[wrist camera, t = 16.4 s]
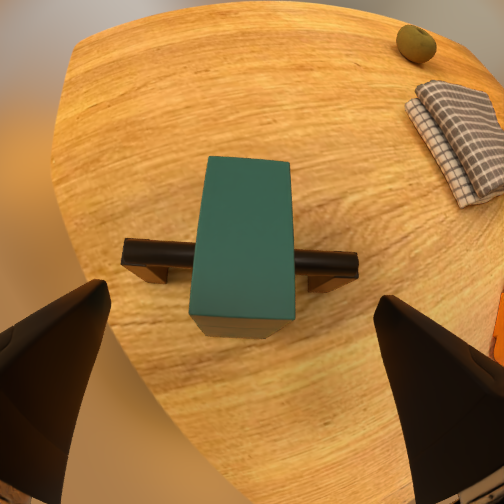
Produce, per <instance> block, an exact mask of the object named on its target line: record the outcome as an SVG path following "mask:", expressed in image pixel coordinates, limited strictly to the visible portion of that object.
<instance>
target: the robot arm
mask: <svg viewBox="0 0 504 504" xmlns="http://www.w3.org/2000/svg"><path fill="white" fill-rule="evenodd" d="M110 309H111V299H110V295H109V290H108V286H107V283H106V281H104V280H99V279H93V280H91V281H89V282H88V283H86V284H84V285H82V286H80V287H78V288H77V289H75V290H73V291H71V292H70V293H68V294H66V295H64V296H63V297H61V298H59V299H57V300H55V301H54V302H52V303H50V304H48V305H47V306H45V307H43V308H42V309H40V310H38V311H36V312H35V313H33V314H31V315H30V316H28V317H26V318H25V319H23V320H22V321H20V322H18V323H16V324H15V325H14V326H12V327H10V328H8V329H7V330H5V331H3V332H2V333H0V504H31V499H32V497H33V498H35V499H38V500H40V501H42V502H44V503H47V504H61V495H62V488H63V482H64V476H65V471H66V465H67V460H68V455H69V449H70V445H71V441H72V437H73V432H74V429H75V425H76V421H77V417H78V413H79V410H80V406H81V403H82V400H83V396H84V393H85V390H86V387H87V384H88V380H89V377H90V374H91V371H92V368H93V366H94V363H95V360H96V357H97V354H98V351H99V349H100V345H101V342H102V338H103V334H104V331H105V327H106V323H107V320H108V316H109V312H110ZM373 320H374V325H375V329H376V333H377V338H378V342H379V347H380V352H381V356H382V359H383V363H384V366H385V369H386V372H387V376H388V379H389V382H390V386H391V389H392V393H393V396H394V400H395V404H396V407H397V411H398V415H399V419H400V423H401V427H402V431H403V435H404V440H405V444H406V449H407V454H408V459H409V464H410V470H411V475H412V481H413V487H414V494H415V501H416V504H436V503H438V502H440V501H443V500H445V499H447V498H449V497H451V496H453V495H455V494H457V493H458V497H459V499H457V500H455V501H454V502H452V503H451V504H504V367H503V366H502V365H500V364H498V363H497V362H495V361H493V360H492V359H490V358H489V357H487V356H486V355H484V354H483V353H481V352H480V351H478V350H477V349H475V348H474V347H472V346H471V345H468V343H466V342H465V341H463V340H462V339H460V338H459V337H457V336H456V335H454V334H453V333H451V332H450V331H448V330H447V329H445V328H444V327H442V326H441V325H439V324H438V323H436V322H435V321H433V320H432V319H430V318H428V317H427V316H425V315H424V314H422V313H421V312H419V311H418V310H416V309H414V308H413V307H411V306H410V305H408V304H407V303H405V302H403V301H402V300H400V299H399V298H397V297H395V296H394V295H383V296H382V297H381V298H380V301H379V303H378V306H377V308H376V310H375V313H374V317H373Z"/></svg>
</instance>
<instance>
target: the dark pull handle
mask: <svg viewBox="0 0 504 504" xmlns="http://www.w3.org/2000/svg"><path fill="white" fill-rule="evenodd" d="M195 245H196V243H192V242H175V241H158V240H149V239H134V238H125V240H124V246H123V252H122V258H121V265H122V266H124V267H125V268H126V269H128V270H129V271H131V272H132V273H134V274H135V275H137V276H138V277H140V278H141V279H143V280H144V281H146V282H148V283H159V284H166V283H167V274H168V267H175V268H189V269H193V262H194V254H195ZM294 260H295V275H308V292H321V293H328V292H330V291H332V290H334V289H337V288H339V287H341V286H343V285H345V284H348V283H350V282H352V281H354V280H356V279H358V278H359V273H358V267H359V260H358V256H357V253H356V252H342V251H318V250H303V249H294Z"/></svg>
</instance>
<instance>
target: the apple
mask: <svg viewBox="0 0 504 504" xmlns="http://www.w3.org/2000/svg"><path fill="white" fill-rule="evenodd" d="M396 43H397V47H398V49H399V51H400V53H401V54H402V55H403V56H404V57H406V58H407V59H409V60H410V61H413V62H416V63H424V62H427V61H429V60H430V59H431V58H432V57H433V56H434V55H435V53H436V42H435V40H434V39H433V38H432V36H430V35H429V34H428V33H427V32H426V31H424V30H423V29H421V28H419V27H416V26H413V25H405V26H403V27H402V28H401V29H400V30H399V32H398V34H397V39H396Z"/></svg>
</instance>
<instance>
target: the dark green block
mask: <svg viewBox="0 0 504 504" xmlns="http://www.w3.org/2000/svg"><path fill="white" fill-rule="evenodd" d="M189 315H190V316H191V317H192V319H193V320H194V321H195V323H196V324H197V326H198V327H199V328H200V329H201V331H202V332H203V333H204V334H205V336H213V337H229V338H251V339H266V338H267V337H269V336H270V335H272V334H274V333H275V332H277V331H278V330H280V329H281V328H283V327H284V326H286V325H287V324H289V323H290V322H292V321H294V320H295V318H296V314H295V260H294V232H293V210H292V192H291V176H290V163H289V162H283V161H274V160H263V159H251V158H237V157H220V156H209V157H208V163H207V169H206V175H205V181H204V187H203V194H202V201H201V207H200V215H199V222H198V229H197V237H196V245H195V254H194V262H193V272H192V281H191V291H190V302H189Z"/></svg>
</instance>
